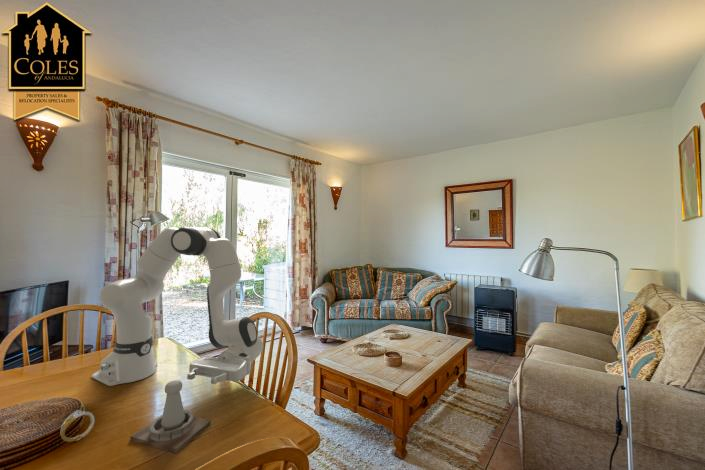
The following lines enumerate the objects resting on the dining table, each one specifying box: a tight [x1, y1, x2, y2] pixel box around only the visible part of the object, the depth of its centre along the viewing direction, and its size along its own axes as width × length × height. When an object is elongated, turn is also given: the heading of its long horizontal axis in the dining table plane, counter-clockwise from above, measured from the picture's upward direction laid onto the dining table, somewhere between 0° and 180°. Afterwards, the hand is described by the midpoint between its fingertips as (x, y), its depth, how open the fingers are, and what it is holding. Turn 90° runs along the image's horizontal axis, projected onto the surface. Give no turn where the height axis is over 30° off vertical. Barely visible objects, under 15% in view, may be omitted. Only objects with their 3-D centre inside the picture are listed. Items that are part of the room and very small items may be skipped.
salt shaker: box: [161, 379, 185, 431], centre depth 84 cm, size 6×6×13 cm
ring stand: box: [129, 409, 212, 454], centre depth 84 cm, size 16×12×3 cm
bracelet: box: [59, 408, 96, 443], centre depth 81 cm, size 7×3×8 cm, turn 144°
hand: (200, 379), depth 94 cm, fingers open, 8 cm apart
